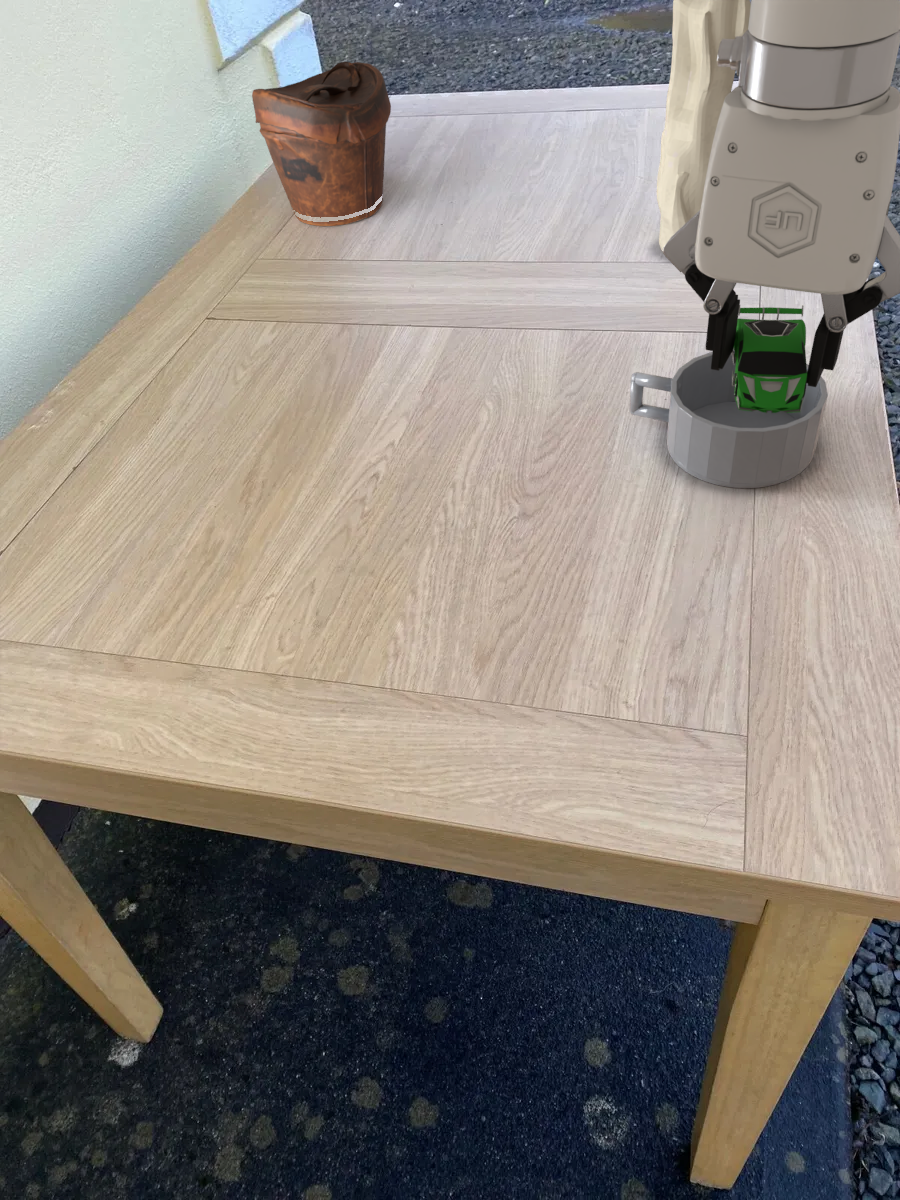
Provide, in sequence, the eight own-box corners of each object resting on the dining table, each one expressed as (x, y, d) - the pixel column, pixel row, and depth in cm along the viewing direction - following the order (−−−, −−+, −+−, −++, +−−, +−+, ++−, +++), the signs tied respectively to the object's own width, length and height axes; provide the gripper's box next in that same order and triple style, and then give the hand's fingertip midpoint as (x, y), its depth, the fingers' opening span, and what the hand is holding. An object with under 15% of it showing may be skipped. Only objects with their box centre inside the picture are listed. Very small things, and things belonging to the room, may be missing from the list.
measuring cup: (829, 418, 85) (842, 361, 80) (793, 502, 77) (805, 444, 73) (652, 385, 92) (655, 331, 87) (603, 459, 84) (605, 404, 80)
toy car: (808, 417, 57) (815, 386, 56) (730, 414, 58) (734, 383, 57) (801, 334, 64) (807, 304, 62) (731, 333, 65) (735, 303, 63)
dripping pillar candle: (736, 251, 109) (773, -49, 88) (677, 272, 107) (700, -30, 86) (693, 227, 115) (718, -60, 94) (636, 246, 113) (648, -43, 92)
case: (412, 176, 137) (394, 41, 124) (392, 234, 123) (369, 89, 110) (298, 184, 139) (269, 52, 127) (265, 242, 126) (229, 101, 113)
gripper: (636, 83, 49) (625, 375, 62) (990, 99, 42) (895, 423, 55) (680, 40, 54) (661, 321, 66) (1007, 49, 47) (915, 360, 60)
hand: (768, 365), depth 61 cm, fingers closed on toy car, 5 cm apart
